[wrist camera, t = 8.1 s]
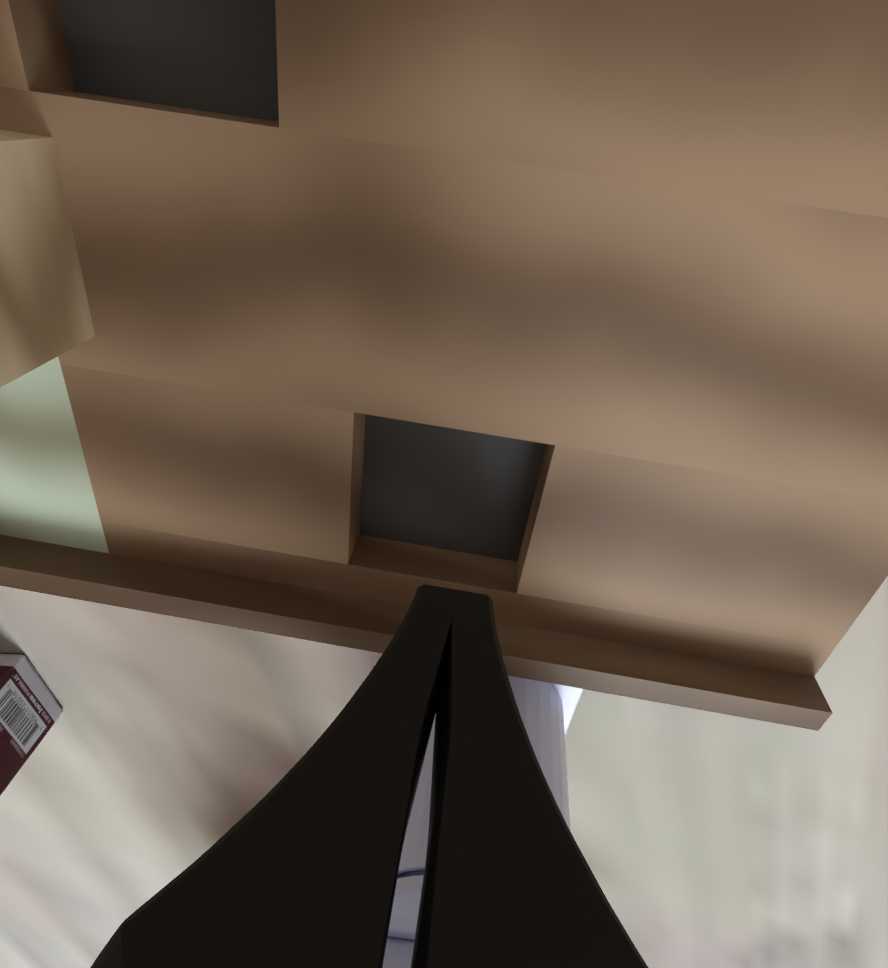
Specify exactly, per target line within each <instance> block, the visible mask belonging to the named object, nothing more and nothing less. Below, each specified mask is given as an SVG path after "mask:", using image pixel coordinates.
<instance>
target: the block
mask: <svg viewBox="0 0 888 968" xmlns="http://www.w3.org/2000/svg"><path fill="white" fill-rule="evenodd" d="M93 337H95V332H94V327H93V323H92V318H91V313H90V309H89V304H88V299H87V295H86V290H85V286H84V281H83V276H82V272H81V267H80V262H79V258H78V253H77V249H76V244H75V239H74V235H73V230H72V225H71V221H70V216H69V212H68V207H67V202H66V198H65V193H64V188H63V184H62V179H61V174H60V170H59V165H58V161H57V156H56V151H55V147H54V142H53V137H47V136H40V135H34V134H27V133H20V132H14V131H7V130H1V129H0V388H1V387H2V386H4V385H6V384H8V383H10V382H12V381H13V380H15V379H17V378H19V377H21V376H23V375H25V374H26V373H28V372H30V371H32V370H34V369H36V368H37V367H39V366H41V365H43V364H45V363H47V362H48V361H50V360H52V359H54V358H56V357H58V356H60V355H61V354H63V353H65V352H67V351H69V350H71V349H72V348H74V347H76V346H78V345H80V344H82V343H83V342H85V341H87V340H89V339H91V338H93Z"/></svg>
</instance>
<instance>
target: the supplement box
mask: <svg viewBox="0 0 888 968" xmlns="http://www.w3.org/2000/svg"><path fill="white" fill-rule="evenodd" d="M62 712H63V709H62V708H61V707H60V705H59V704H58V702H57V701H56V699H55V697H54V696H53V695H52V693H51V692H50V690H49V689H48V687H47V686H46V685H45V683H44V682H43V680H42V679H41V677H40V676H39V674H38V673H37V671H36V670H35V668H34V667H33V666H32V665H31V663H30V662H29V661H28V659H27V658H26V656H24V655H21V654H0V795H1V794H2V792H3V791H4V790H5V788H6V787H7V786H8V784H9V783H10V782H11V780H12V779H13V778H14V776H15V775H16V774H17V772H18V771H19V770H20V768H21V767H22V766H23V764H24V763H25V762H26V760H27V759H28V758H29V756H30V755H31V754H32V752H33V751H34V750H35V748H36V747H37V746H38V744H39V743H40V742H41V740H42V739H43V738H44V736H45V735H46V734H47V732H48V731H49V729H50V728H51V727H52V726H53V724H54V723H55V722H56V720H57V719H58V718H59V716H60V715H61V714H62Z"/></svg>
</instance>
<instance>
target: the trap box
mask: <svg viewBox="0 0 888 968" xmlns="http://www.w3.org/2000/svg"><path fill="white" fill-rule="evenodd" d="M0 129H1V130H7V131H14V132H20V133H27V134H34V135H40V136H47V137H53V142H54V147H55V151H56V156H57V161H58V165H59V170H60V174H61V179H62V184H63V188H64V193H65V198H66V202H67V207H68V212H69V216H70V221H71V225H72V230H73V235H74V239H75V244H76V249H77V253H78V258H79V262H80V267H81V272H82V276H83V281H84V286H85V290H86V295H87V299H88V304H89V309H90V313H91V318H92V323H93V327H94V332H95V337H93V338H91V339H89V340H87V341H85V342H83V343H82V344H80V345H78V346H76V347H74V348H72V349H71V350H69V351H67V352H65V353H63V354H61V355H60V356H58V357H56V358H54V359H52V360H50V361H48V362H47V363H45V364H43V365H41V366H39V367H37V368H36V369H34V370H32V371H30V372H28V373H26V374H25V375H23V376H21V377H19V378H17V379H15V380H13V381H12V382H10V383H8V384H6V385H4V386H2V387H1V388H0V585H1V586H6V587H12V588H17V589H23V590H29V591H34V592H40V593H46V594H51V595H57V596H63V597H68V598H74V599H79V600H85V601H91V602H96V603H102V604H108V605H113V606H119V607H125V608H130V609H136V610H141V611H147V612H153V613H158V614H164V615H170V616H175V617H181V618H187V619H192V620H198V621H203V622H209V623H215V624H220V625H226V626H232V627H237V628H243V629H249V630H254V631H260V632H265V633H271V634H277V635H282V636H288V637H294V638H299V639H305V640H311V641H316V642H322V643H327V644H333V645H339V646H344V647H350V648H356V649H361V650H367V651H372V652H378V653H384V651H385V650H386V648H387V646H388V645H389V643H390V642H391V640H392V639H393V637H394V635H395V634H396V632H397V630H398V628H399V627H400V625H401V623H402V621H403V620H404V618H405V616H406V614H407V612H408V610H409V608H410V606H411V603H412V601H413V599H414V597H415V594H416V591H417V588H418V587H420V586H422V585H424V584H426V585H432V586H438V587H444V588H450V589H456V590H462V591H468V592H473V593H479V594H485V595H488V596H489V597H490V598H491V599H492V600H493V611H494V619H495V625H496V630H497V635H498V640H499V644H500V648H501V653H502V657H503V660H504V664H505V668H506V671H507V675H508V676H513V677H519V678H525V679H530V680H536V681H542V682H547V683H553V684H558V685H564V686H570V687H575V688H581V689H587V690H592V691H598V692H604V693H609V694H615V695H620V696H626V697H632V698H637V699H643V700H649V701H654V702H660V703H666V704H671V705H677V706H682V707H688V708H694V709H699V710H705V711H711V712H716V713H722V714H728V715H733V716H739V717H744V718H750V719H756V720H761V721H767V722H773V723H778V724H784V725H790V726H795V727H801V728H806V729H812V730H819V729H820V728H821V727H822V725H823V724H824V723H825V722H826V720H827V719H828V718H829V716H830V715H831V714H832V711H831V709H830V707H829V705H828V703H827V701H826V699H825V697H824V695H823V693H822V691H821V689H820V687H819V685H818V683H817V681H816V679H815V677H814V676H815V675H816V673H817V672H818V671H819V669H820V668H821V666H822V665H823V664H824V662H825V661H826V660H827V658H828V657H829V655H830V654H831V653H832V651H833V650H834V649H835V647H836V646H837V644H838V643H839V642H840V640H841V639H842V638H843V636H844V635H845V633H846V632H847V631H848V629H849V628H850V627H851V625H852V624H853V622H854V621H855V620H856V618H857V617H858V616H859V614H860V613H861V611H862V610H863V609H864V607H865V606H866V605H867V603H868V602H869V600H870V599H871V598H872V596H873V595H874V594H875V592H876V591H877V589H878V588H879V587H880V585H881V584H882V583H883V581H884V580H885V578H886V577H887V576H888V0H0Z"/></svg>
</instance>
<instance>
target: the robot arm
mask: <svg viewBox="0 0 888 968" xmlns="http://www.w3.org/2000/svg"><path fill="white" fill-rule="evenodd" d="M583 690H584V689H581V688H575V687H570V686H564V685H558V684H553V683H547V682H542V681H536V680H530V679H525V678H519V677H513V676H508V675H507V671H506V668H505V664H504V660H503V657H502V653H501V648H500V644H499V640H498V635H497V630H496V625H495V619H494V611H493V600H492V599H491V598H490V597H489V596H488V595H485V594H479V593H473V592H468V591H462V590H456V589H450V588H444V587H438V586H432V585H426V584H424V585H422V586H420V587H418V588H417V591H416V594H415V597H414V599H413V601H412V603H411V606H410V608H409V610H408V612H407V614H406V616H405V618H404V620H403V621H402V623H401V625H400V627H399V628H398V630H397V632H396V634H395V635H394V637H393V639H392V640H391V642H390V643H389V645H388V646H387V648H386V650H385V651H384V653H383V654H382V656H381V657H380V659H379V660H378V662H377V663H376V665H375V667H374V668H373V669H372V671H371V672H370V674H369V675H368V677H367V678H366V679H365V681H364V682H363V683H362V685H361V686H360V687H359V689H358V690H357V691H356V693H355V694H354V695H353V697H352V698H351V699H350V701H349V702H348V703H347V705H346V706H345V707H344V709H343V710H342V711H341V713H340V714H339V715H338V716H337V717H336V719H335V720H334V721H333V722H332V724H331V725H330V726H329V727H328V728H327V730H326V731H325V732H324V733H323V734H322V736H321V737H320V738H319V739H318V740H317V741H316V742H315V744H314V745H313V746H312V747H311V748H310V749H309V750H308V752H307V753H306V754H305V755H304V756H303V757H302V758H301V759H300V760H299V761H298V762H297V763H296V765H295V766H294V767H293V768H292V769H291V770H290V771H289V772H288V773H287V774H286V775H285V776H284V777H283V778H282V779H281V780H280V782H279V783H278V784H277V785H276V786H275V787H274V788H273V789H272V790H271V791H270V792H269V793H268V794H267V795H266V796H265V797H264V798H263V799H262V800H261V801H260V802H259V803H258V804H257V805H256V806H255V807H254V808H253V809H252V810H250V811H249V812H248V813H247V814H246V815H245V816H244V817H243V818H242V819H241V820H240V821H239V822H238V823H236V824H235V825H234V826H233V827H232V828H231V829H230V830H229V831H228V832H227V833H226V834H225V835H224V836H223V837H221V838H220V839H219V840H218V841H217V842H216V843H215V844H214V845H213V846H212V847H211V848H210V849H209V850H207V851H206V852H205V853H204V854H203V855H202V856H201V857H199V858H198V859H197V860H196V861H195V862H194V863H193V864H192V865H190V866H189V867H188V868H187V869H186V870H184V871H183V872H182V873H181V874H179V875H178V876H177V877H176V878H175V879H173V880H172V881H171V882H170V883H169V884H167V885H166V886H165V887H164V888H163V889H161V890H160V891H159V892H158V893H157V894H155V895H154V896H153V897H152V898H151V899H149V900H148V901H147V902H146V903H145V904H143V905H142V906H141V907H140V908H139V909H137V910H136V911H135V912H134V913H133V914H131V915H130V916H129V917H128V918H127V919H126V920H125V921H124V922H123V923H122V924H121V925H120V927H119V928H118V929H117V931H116V932H115V933H114V935H113V936H112V937H111V939H110V940H109V942H108V943H107V944H106V946H105V947H104V949H103V950H102V951H101V953H100V954H99V956H98V957H97V959H96V960H95V962H94V963H93V965H92V966H91V968H648V966H647V965H646V963H645V962H644V960H643V959H642V957H641V955H640V954H639V952H638V951H637V949H636V947H635V946H634V944H633V942H632V941H631V939H630V937H629V936H628V934H627V932H626V931H625V929H624V927H623V926H622V924H621V922H620V921H619V919H618V917H617V916H616V914H615V912H614V911H613V909H612V907H611V906H610V904H609V902H608V900H607V899H606V897H605V895H604V893H603V891H602V889H601V888H600V886H599V884H598V882H597V880H596V878H595V877H594V875H593V873H592V871H591V869H590V867H589V866H588V864H587V862H586V860H585V858H584V856H583V855H582V853H581V851H580V849H579V847H578V845H577V844H576V842H575V840H574V838H573V836H572V834H571V832H570V816H569V799H568V782H567V764H566V747H565V735H566V732H567V730H568V727H569V725H570V722H571V720H572V717H573V715H574V712H575V710H576V707H577V705H578V702H579V700H580V697H581V695H582V692H583Z"/></svg>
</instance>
